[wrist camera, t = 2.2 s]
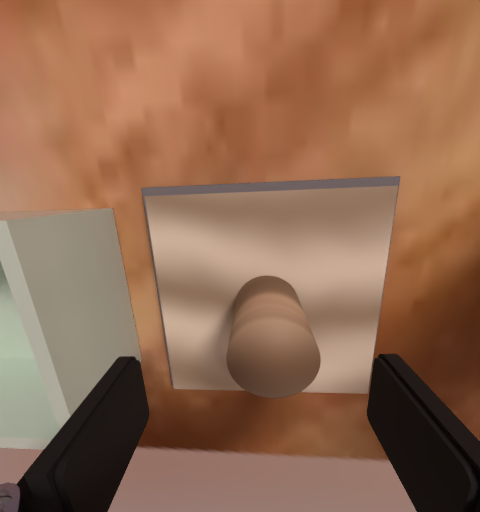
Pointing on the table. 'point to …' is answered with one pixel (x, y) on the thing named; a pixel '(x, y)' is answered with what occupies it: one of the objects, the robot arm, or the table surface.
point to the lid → (272, 287)
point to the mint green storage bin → (58, 317)
